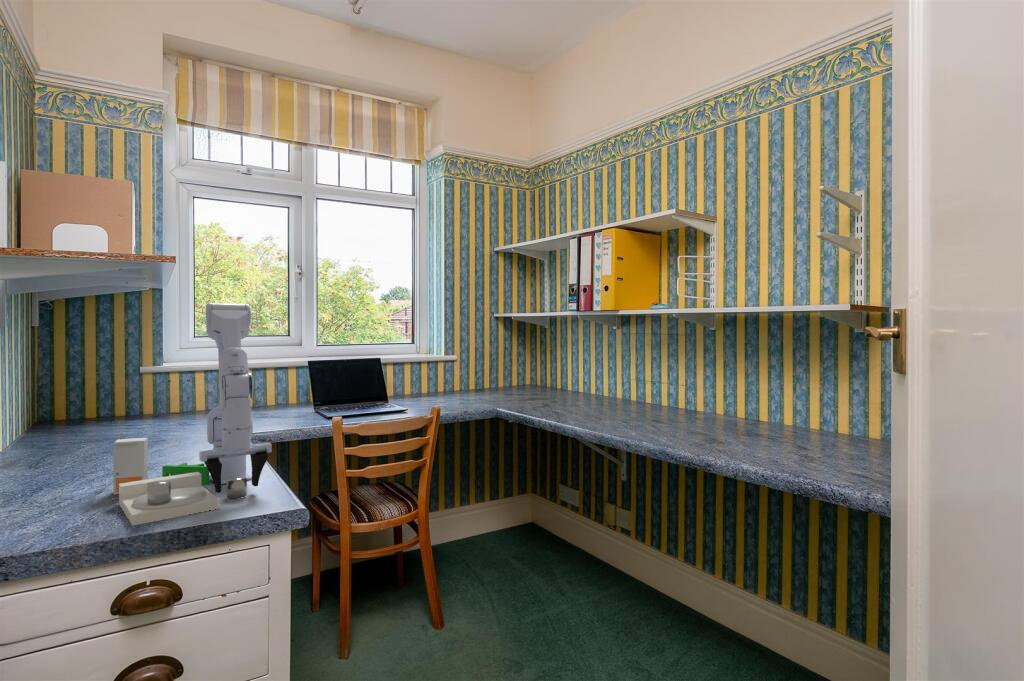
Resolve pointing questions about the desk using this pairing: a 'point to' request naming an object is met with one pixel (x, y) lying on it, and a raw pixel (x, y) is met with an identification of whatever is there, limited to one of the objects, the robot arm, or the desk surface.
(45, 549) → the desk surface
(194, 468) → the pipe clamp
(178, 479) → the scale
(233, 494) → the cylinder
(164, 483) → the cylinder
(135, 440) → the skincare box
